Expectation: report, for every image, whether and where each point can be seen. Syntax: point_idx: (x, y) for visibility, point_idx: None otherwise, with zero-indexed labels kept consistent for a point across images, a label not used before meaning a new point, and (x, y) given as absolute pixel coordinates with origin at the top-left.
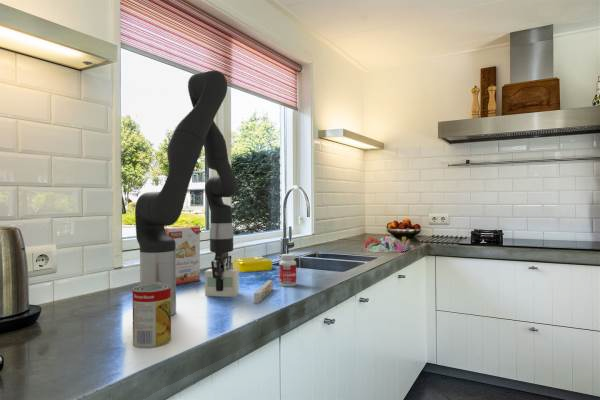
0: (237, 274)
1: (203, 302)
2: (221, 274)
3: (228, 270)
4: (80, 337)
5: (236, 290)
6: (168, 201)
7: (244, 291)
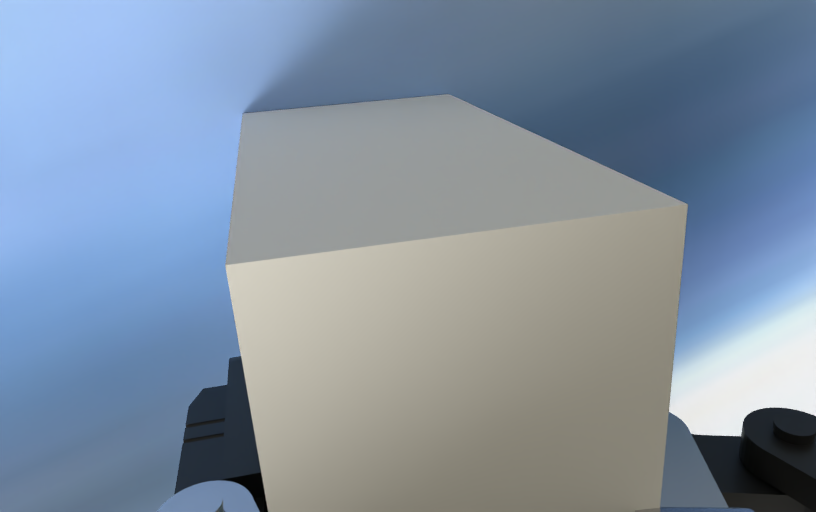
0: (358, 198)
1: (769, 358)
2: (711, 492)
3: (490, 494)
4: None
5: (394, 113)
6: None
7: (26, 75)
